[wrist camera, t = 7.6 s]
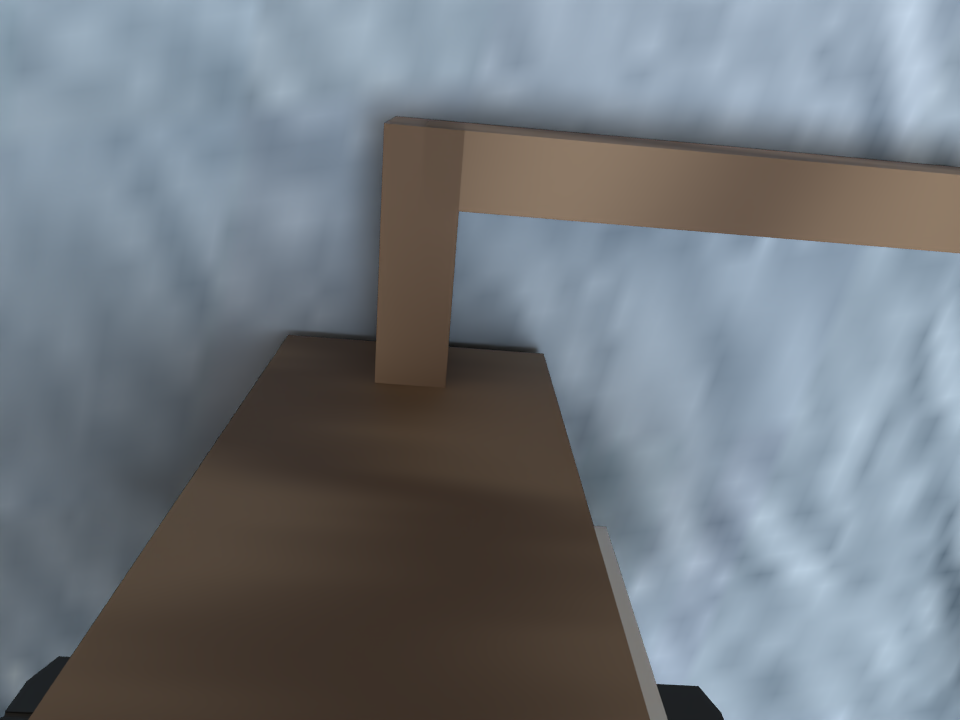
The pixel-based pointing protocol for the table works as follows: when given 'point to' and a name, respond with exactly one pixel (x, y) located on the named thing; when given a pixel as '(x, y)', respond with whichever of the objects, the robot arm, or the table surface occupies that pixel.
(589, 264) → the table surface
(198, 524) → the walnut bed frame
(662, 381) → the table surface
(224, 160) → the table surface
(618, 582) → the robot arm
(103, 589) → the table surface
